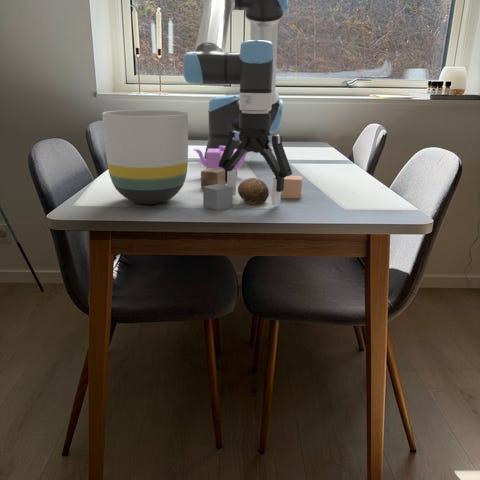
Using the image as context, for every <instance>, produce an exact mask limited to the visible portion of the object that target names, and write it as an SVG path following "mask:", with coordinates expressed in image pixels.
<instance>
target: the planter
mask: <svg viewBox="0 0 480 480" xmlns="http://www.w3.org/2000/svg"><path fill="white" fill-rule="evenodd" d="M101 115H102V127H103V137H104V138H103V139H104V148H105V156H106V163H107V170H108V174H109V178H110V180H111V183H112V184H113V187H114V188H115V190H116V191H117V192H118V193H119V194H120V195H122V197H123V198H126V199H127V200H129V201H130V202H132V203H135V204H141V205H156V204H161V203H164V202H167V201H169V200H171V199H172V198H174V197H175V196H176V195H177V194H178V193H179V192H180V191H181V189H182V188H183V187H184V184H185V182H186V178H187V173H188V165H189V164H188V163H189V162H188V161H189V120H188V118H189V117H188V116H189V115H188V112H186V111H181V110H180V111H179V110H165V109H160V110H159V109H125V110H122V109H121V110H110V111H109V110H108V111H103V112H102V114H101Z"/></svg>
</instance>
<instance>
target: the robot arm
mask: <svg viewBox="0 0 480 480" xmlns="http://www.w3.org/2000/svg"><path fill="white" fill-rule="evenodd" d="M201 3H202V4H201V5H202V7H203V9H202V15H201V19H200V23H199V31H198V33H197V40H196V44H195V49H194V50H192V51H187V52H185V54H184V55H183V57H182V58H183V59H182V69H183V70H182V71H183V77H184V80H185V82H186V83H188V84H193V85H194V84H197V85H236V86H237V85H239V94H232V95H224V96H222V95H221V96H217V97H212V98H210V100H209V101H208V110H207V112H208V141H207V144H206V148H205V152H204V154H203V156H204V158H205V159H206V152H207V150H208V149H219V146H226V147H225V150H224V152H223V155H222V157H221V160H220V162H219V167H222V168H224V169H225V184H227V185H226V186H230V187H233V197H234V196H237V177H236V170H232V169H235V168H234V167H235V166H236V164H237V163H238V162H239V161H240V159H241V158H242V157H243V155H244V154H245V153H246V152H248V153H249V152H253V153H256V154H257V153H258V154H260V155H261V156H262V157H263V158H264V161H265V162H266V163H267V165H268V167H269V168H270V170H271V172H272V173H273V175H274V177H273V178H272V187H271V188H272V189H271V190H272V191H271V206H274V207H276V206H277V205H280V204H281V198H282V191H283V190H284V178H285V177H287V176H293V171H292V169H291V168H292V167H291V165H290V163H289V160H288V157H287V155H286V152H285V149H284V146H283V137H282V135H281V134H274V135H271V133H276V132H277V131H278V130H279V128H280V126H281V121H282V115H283V108H284V101H283V99H281V98H280V94H279V93H278V92H277V91H276V81H277V79H276V77H277V53H278V51H277V50H278V33H279V32H278V30H279V29H278V28H279V27H278V25H279V21H281V19H283V18H284V12H286V11H288V10H289V0H201ZM234 11H245V18H246V19H247V20H248V21H249V22H250V23H249V24H250V31H249V32H250V35H249V36H250V39H249V40H243V41H242V42H241V43H240V47H239V50H240V52H233V51H232V52H226V51H225V50H226V45H227V44H226V43H227V38H228V30H229V23H230V16H231V14H232V13H233V12H234ZM270 144H271V145H272V147H271V146H270ZM234 149H237V151H236V152H235V153H234V155H233V156H232V154H233V152H234ZM272 149H273V150H272Z"/></svg>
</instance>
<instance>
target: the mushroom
mask: <svg viewBox="0 0 480 480" xmlns="http://www.w3.org/2000/svg"><path fill="white" fill-rule="evenodd" d="M237 194H238V195H239V196H240V199H242V200H243V201H244V202H245V203H247V204H251V205H254V206H255V205H262V204H264V203H265V202H266V201H267V200H268V199H269V196H270V191H269V188H268V186H267V185H266V183H265V182H264V180H261V179H260V178H255V177H252V178H246V179H244V180H243V181H241V182H240V183H239V185H238V186H237Z"/></svg>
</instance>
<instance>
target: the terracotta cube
mask: <svg viewBox="0 0 480 480" xmlns="http://www.w3.org/2000/svg"><path fill="white" fill-rule="evenodd" d="M302 185H303V176H302V175H290V176H287V177H285V178H284V190H283V191H281V198H282V199H302Z"/></svg>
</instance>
